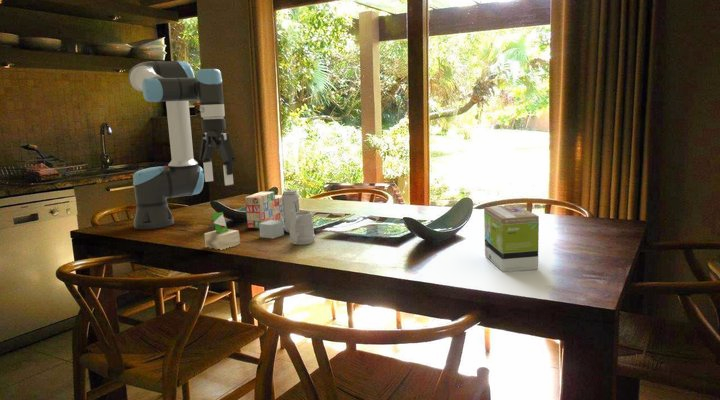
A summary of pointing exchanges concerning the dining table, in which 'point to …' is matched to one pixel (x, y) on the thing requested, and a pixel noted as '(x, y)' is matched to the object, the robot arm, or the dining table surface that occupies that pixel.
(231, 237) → the beech block
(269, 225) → the grey block
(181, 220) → the dining table surface
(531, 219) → the tea box
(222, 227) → the geometric puzzle
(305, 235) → the mug
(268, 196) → the stack of blocks
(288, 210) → the energy drink can
